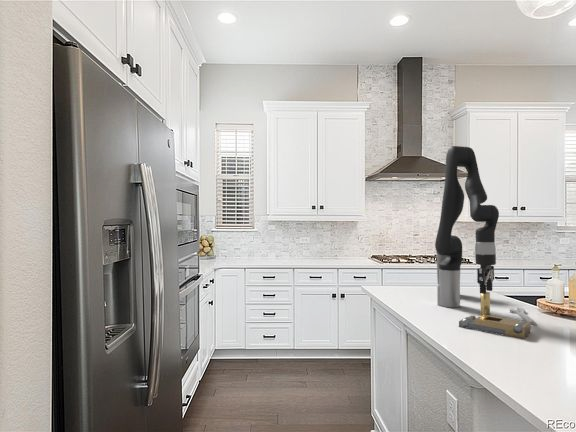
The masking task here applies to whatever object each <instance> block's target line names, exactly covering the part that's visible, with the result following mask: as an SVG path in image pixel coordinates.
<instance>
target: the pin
mask: <svg viewBox="0 0 576 432" xmlns="http://www.w3.org/2000/svg"><path fill="white" fill-rule="evenodd" d="M481 315H489V316H491V292H490V291H486V294H481V293H480V316H481Z"/></svg>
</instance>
